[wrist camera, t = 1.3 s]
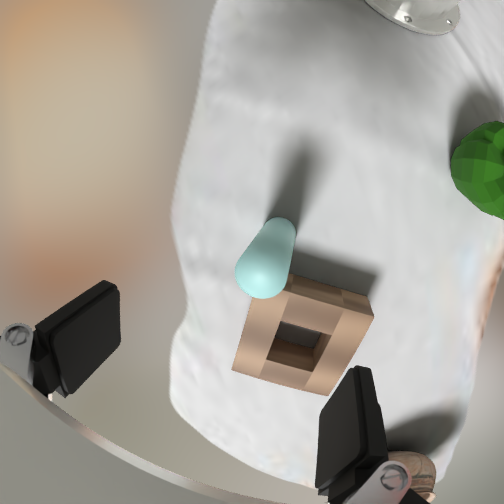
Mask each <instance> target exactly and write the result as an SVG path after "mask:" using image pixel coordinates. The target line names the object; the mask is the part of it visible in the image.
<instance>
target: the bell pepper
mask: <svg viewBox="0 0 504 504" xmlns="http://www.w3.org/2000/svg"><path fill="white" fill-rule="evenodd" d="M451 176H452V179H453V181H454V183H455V186H456V188H457V189H458V190H459V191H460V192H461V193H462V194H463V195H464V196H465V197H466V198H468V199H469V200H470V201H471V202H472V203H473V204H474V205H475V206H476V207H478V208H479V209H480V210H481V211H483V212H485V213H487V214H490V215H494V216H496V217H498V218H501V219H503V220H504V123H502V122H499V121H494V122H489V123H484V124H483V125H481V126H479V127H478V128H476V129H474V130H473V131H472V132H470V133H469V134H468V135H467V136H466V137H464V138H463V139H462V140H461V143H460V146H458V147H457V148H455V151H454V153H453V156H452V158H451Z"/></svg>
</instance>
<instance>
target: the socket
mask: <svg viewBox="0 0 504 504" xmlns="http://www.w3.org/2000/svg"><path fill="white" fill-rule="evenodd" d="M373 319H374V314H373V311H372V309H371V306H370V303H369V300H368V298H367V296H363V295H360V294H357V293H353V292H350V291H347V290H343V289H340V288H337V287H333V286H330V285H327V284H323V283H320V282H317V281H314V280H310V279H307V278H304V277H300V276H297V275H294V274H291V273H288V277H287V281H286V284H285V287H284V288H283V290H282V291H281V292H280V293H279V294H277V295H275V296H274V297H271V298H266V299H260V298H255V297H252V301H251V304H250V308H249V311H248V315H247V318H246V322H245V325H244V329H243V332H242V335H241V339H240V342H239V346H238V349H237V352H236V356H235V359H234V363H233V366H232V369H231V370H233V371H236V372H239V373H242V374H246V375H249V376H252V377H255V378H258V379H262V380H265V381H269V382H272V383H276V384H279V385H283V386H287V387H291V388H295V389H298V390H303V391H307V392H311V393H315V394H320V395H324V396H328V395H329V394H330V392H331V391H332V389H333V388H334V386H335V385H336V383H337V381H338V380H339V378H340V377H341V375H342V374H343V372H344V370H345V369H346V367H347V365H348V364H349V362H350V360H351V359H352V357H353V355H354V354H355V352H356V350H357V348H358V347H359V345H360V343H361V341H362V339H363V338H364V336H365V334H366V332H367V330H368V328H369V326H370V325H371V323H372V321H373ZM280 321H284V322H287V323H290V324H294V325H297V326H301V327H304V328H308V329H311V330H315V331H318V332H321V335H320V337H319V339H318V341H317V343H316V345H315V347H314V349H312V348H309V347H305V346H301V345H298V344H294V343H291V342H287V341H284V340H280V339H277V338H274V337H275V334H276V331H277V329H278V326H279V323H280Z"/></svg>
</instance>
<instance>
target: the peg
mask: <svg viewBox="0 0 504 504" xmlns="http://www.w3.org/2000/svg"><path fill="white" fill-rule="evenodd" d="M295 238H296V230H295V227H294V225H293V224H292V223H291V222H290V221H289V220H287V219H285V218H282V217H275V218H272V219H270V220H268V221H267V222H266V223H265V225H264V226H263V227H262V229H261V230H260V231H259V233H258V234H257V235H256V237H255V238H254V240H253V241H252V242H251V244H250V245H249V246H248V248H247V249H246V250H245V252H244V253H243V255H242V256H241V257H240V259H239V260H238V262H237V264H236V267H235V278H236V281H237V283H238V285H239V287H240V288H241V289H242V290H243V291H244V292H245V293H246V294H248V295H250V296H252V297H255V298H260V299H266V298H271V297H274V296H275V295H277V294H279V293H280V292H281V291H282V290H283V288H284V287H285V284H286V281H287V277H288V272H289V268H290V263H291V258H292V253H293V248H294V243H295Z"/></svg>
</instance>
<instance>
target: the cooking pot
mask: <svg viewBox="0 0 504 504" xmlns="http://www.w3.org/2000/svg"><path fill="white" fill-rule="evenodd" d="M388 458H389V461H398V462H401V463H402V464H404V465H405V466H406V467H407V468H408V469H409V471H410V473H411V477H412V481H411V485H410V488H411V489H412V490H414V491H415V492H416V493H417V494H419V495H420V496H421V497H422V498H424V499H425V500H426V501H427V502H429V503H430V502H431V501H432V500H433V499H434V498H435V497H436V494H435V493H433V492H432V491H433V488H434V484H435V479H436V469H435V465H434V463H433V462H432V461H431V460H430V459H429V458H428V457H427V456H425V455H423V454H421V453H417V452H411V451H388Z"/></svg>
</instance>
